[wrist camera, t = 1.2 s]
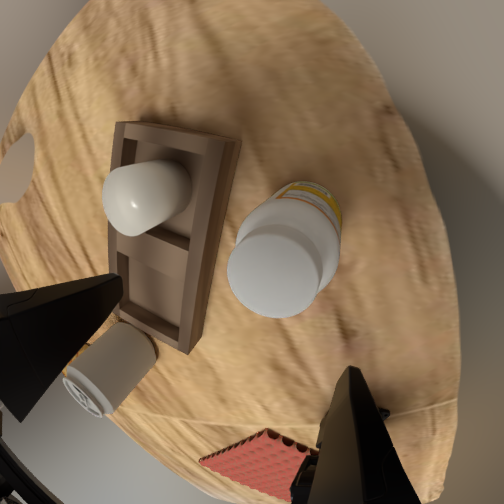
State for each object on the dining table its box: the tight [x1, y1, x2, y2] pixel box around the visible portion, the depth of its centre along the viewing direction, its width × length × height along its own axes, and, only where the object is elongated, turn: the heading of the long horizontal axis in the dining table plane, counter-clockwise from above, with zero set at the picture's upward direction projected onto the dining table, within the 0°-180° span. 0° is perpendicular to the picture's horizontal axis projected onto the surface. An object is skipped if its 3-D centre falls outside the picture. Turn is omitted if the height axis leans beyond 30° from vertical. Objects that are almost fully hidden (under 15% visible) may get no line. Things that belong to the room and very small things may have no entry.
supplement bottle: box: [227, 181, 342, 318], centre depth 16 cm, size 5×5×10 cm
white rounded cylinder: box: [102, 158, 192, 236], centre depth 19 cm, size 5×5×5 cm
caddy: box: [108, 121, 242, 355], centre depth 23 cm, size 10×20×3 cm, turn 166°
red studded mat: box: [199, 428, 311, 502], centre depth 38 cm, size 28×28×2 cm
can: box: [63, 322, 156, 418], centre depth 28 cm, size 8×8×12 cm
